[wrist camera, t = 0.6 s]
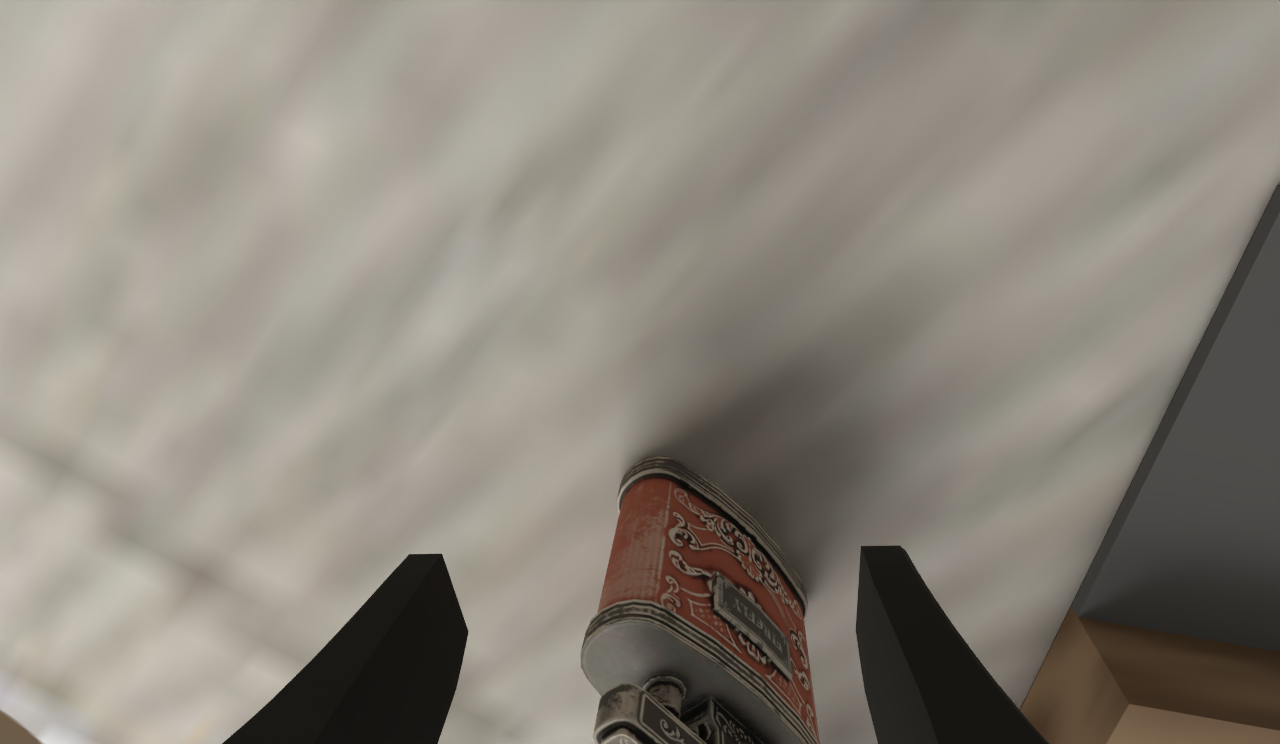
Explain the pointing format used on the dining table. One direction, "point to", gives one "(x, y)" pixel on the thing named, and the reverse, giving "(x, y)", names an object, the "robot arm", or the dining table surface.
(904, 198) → the dining table surface
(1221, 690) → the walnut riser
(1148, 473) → the rubber mat
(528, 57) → the dining table surface
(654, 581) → the lighter
